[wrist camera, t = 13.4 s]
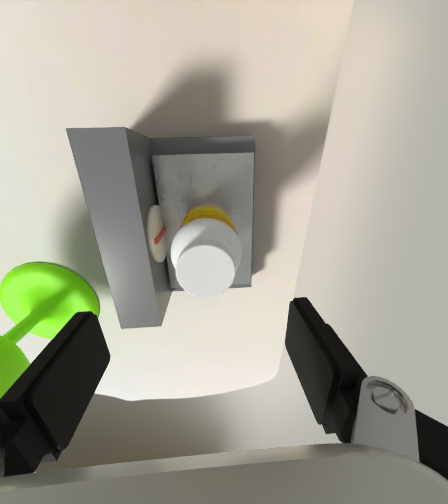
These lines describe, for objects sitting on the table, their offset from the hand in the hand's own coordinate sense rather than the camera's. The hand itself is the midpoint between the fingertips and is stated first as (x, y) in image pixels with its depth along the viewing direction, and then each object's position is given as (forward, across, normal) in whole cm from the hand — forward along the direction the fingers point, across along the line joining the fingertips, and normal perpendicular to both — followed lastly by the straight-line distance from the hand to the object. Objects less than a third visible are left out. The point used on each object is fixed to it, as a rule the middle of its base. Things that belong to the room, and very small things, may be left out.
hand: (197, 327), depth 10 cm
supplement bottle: (+19, 0, +1) cm, 19 cm away
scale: (+24, +2, +1) cm, 24 cm away
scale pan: (+20, 0, +1) cm, 20 cm away
